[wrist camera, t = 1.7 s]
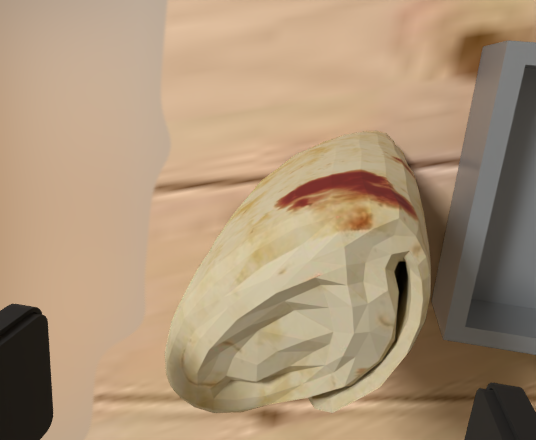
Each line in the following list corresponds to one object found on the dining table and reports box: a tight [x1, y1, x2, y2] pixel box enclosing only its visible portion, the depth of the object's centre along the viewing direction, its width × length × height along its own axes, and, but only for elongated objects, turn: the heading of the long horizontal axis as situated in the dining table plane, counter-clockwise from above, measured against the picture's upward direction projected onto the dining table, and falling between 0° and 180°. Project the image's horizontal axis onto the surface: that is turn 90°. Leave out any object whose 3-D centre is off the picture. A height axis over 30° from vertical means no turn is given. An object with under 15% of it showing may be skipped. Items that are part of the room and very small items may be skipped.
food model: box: [165, 131, 431, 413], centre depth 22 cm, size 10×7×20 cm
